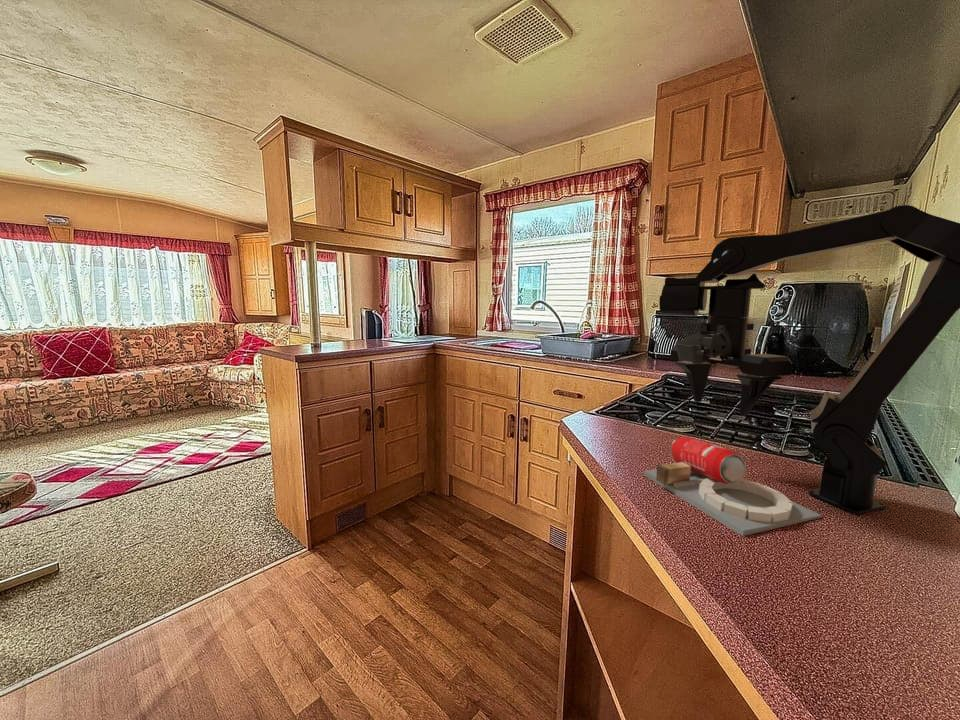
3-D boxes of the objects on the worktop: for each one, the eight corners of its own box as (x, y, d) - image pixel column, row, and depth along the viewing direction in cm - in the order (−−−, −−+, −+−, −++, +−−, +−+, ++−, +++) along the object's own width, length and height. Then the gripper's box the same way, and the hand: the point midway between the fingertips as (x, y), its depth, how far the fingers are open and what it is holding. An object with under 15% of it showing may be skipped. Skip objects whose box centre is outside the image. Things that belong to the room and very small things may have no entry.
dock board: (707, 466, 73) (708, 455, 72) (820, 520, 55) (822, 507, 54) (643, 475, 69) (644, 464, 69) (742, 536, 51) (744, 522, 50)
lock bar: (681, 476, 66) (682, 462, 66) (689, 480, 64) (690, 466, 64) (656, 479, 65) (657, 465, 64) (664, 484, 63) (665, 469, 62)
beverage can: (711, 473, 59) (663, 453, 71) (736, 492, 60) (684, 469, 72) (730, 445, 59) (679, 430, 71) (754, 464, 60) (700, 446, 72)
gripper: (648, 315, 72) (643, 398, 74) (741, 319, 54) (730, 428, 56) (697, 315, 75) (691, 395, 77) (800, 319, 57) (788, 422, 60)
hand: (719, 408), depth 68 cm, fingers open, 9 cm apart
